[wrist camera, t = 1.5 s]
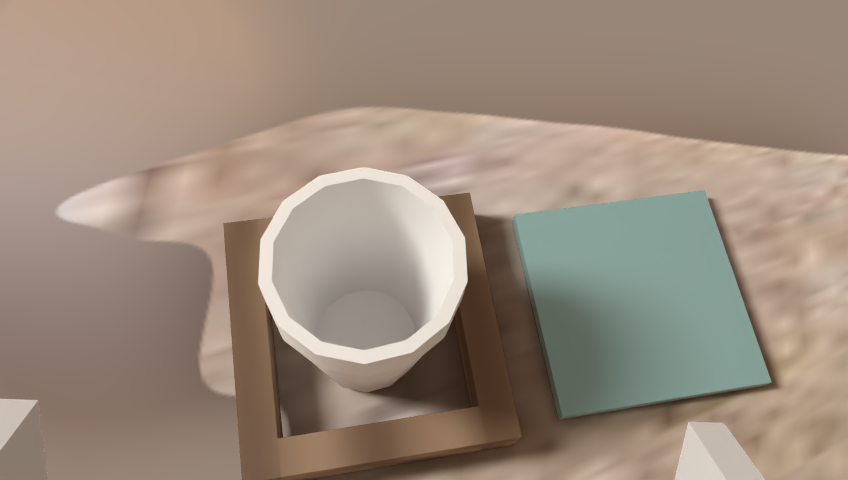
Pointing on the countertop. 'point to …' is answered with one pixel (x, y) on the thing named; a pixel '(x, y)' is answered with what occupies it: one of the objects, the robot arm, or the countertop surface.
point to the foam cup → (363, 274)
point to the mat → (636, 304)
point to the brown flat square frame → (377, 442)
